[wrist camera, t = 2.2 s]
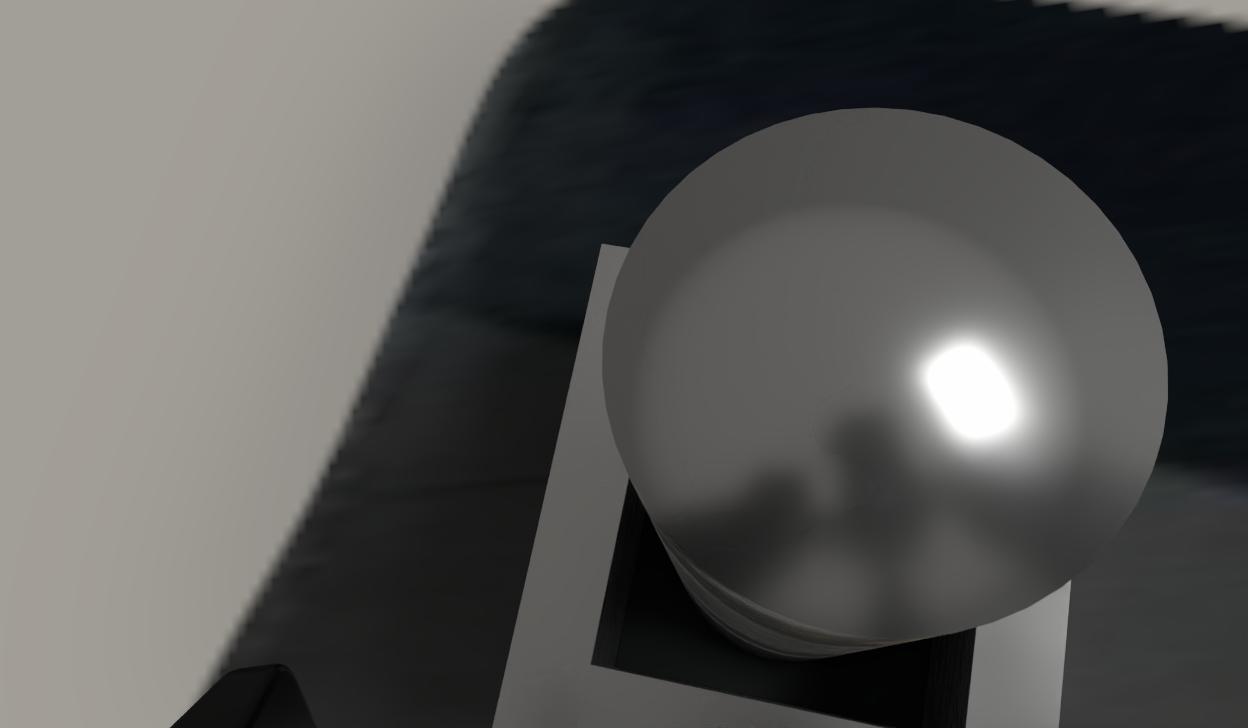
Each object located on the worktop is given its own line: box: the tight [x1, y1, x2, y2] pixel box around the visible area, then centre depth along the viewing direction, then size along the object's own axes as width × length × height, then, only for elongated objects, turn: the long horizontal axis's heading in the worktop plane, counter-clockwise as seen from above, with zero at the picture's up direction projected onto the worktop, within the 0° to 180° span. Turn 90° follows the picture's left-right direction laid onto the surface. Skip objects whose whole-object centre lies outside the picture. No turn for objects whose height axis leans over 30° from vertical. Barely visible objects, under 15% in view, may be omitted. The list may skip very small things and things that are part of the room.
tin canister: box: [602, 108, 1168, 662], centre depth 12 cm, size 4×4×10 cm
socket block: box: [492, 244, 1071, 728], centre depth 15 cm, size 7×7×3 cm
